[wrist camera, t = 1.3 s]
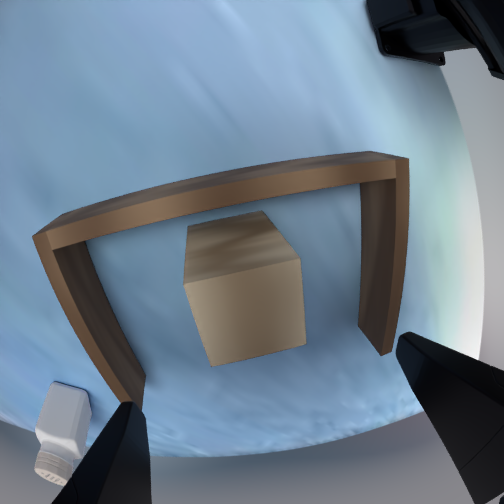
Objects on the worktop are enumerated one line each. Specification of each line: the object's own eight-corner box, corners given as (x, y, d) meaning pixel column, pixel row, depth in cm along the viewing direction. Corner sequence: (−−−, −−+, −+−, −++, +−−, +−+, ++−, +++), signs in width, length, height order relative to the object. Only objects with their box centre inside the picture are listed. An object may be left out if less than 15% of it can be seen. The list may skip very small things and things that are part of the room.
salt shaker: (50, 377, 19) (22, 460, 11) (88, 388, 21) (69, 477, 12) (58, 402, 21) (38, 478, 12) (93, 412, 22) (79, 492, 13)
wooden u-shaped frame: (370, 151, 17) (408, 158, 13) (367, 322, 23) (391, 351, 19) (62, 214, 15) (31, 236, 11) (135, 376, 21) (129, 414, 17)
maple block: (261, 210, 17) (300, 258, 11) (271, 275, 19) (306, 344, 13) (187, 226, 17) (183, 284, 10) (204, 290, 19) (211, 366, 12)
